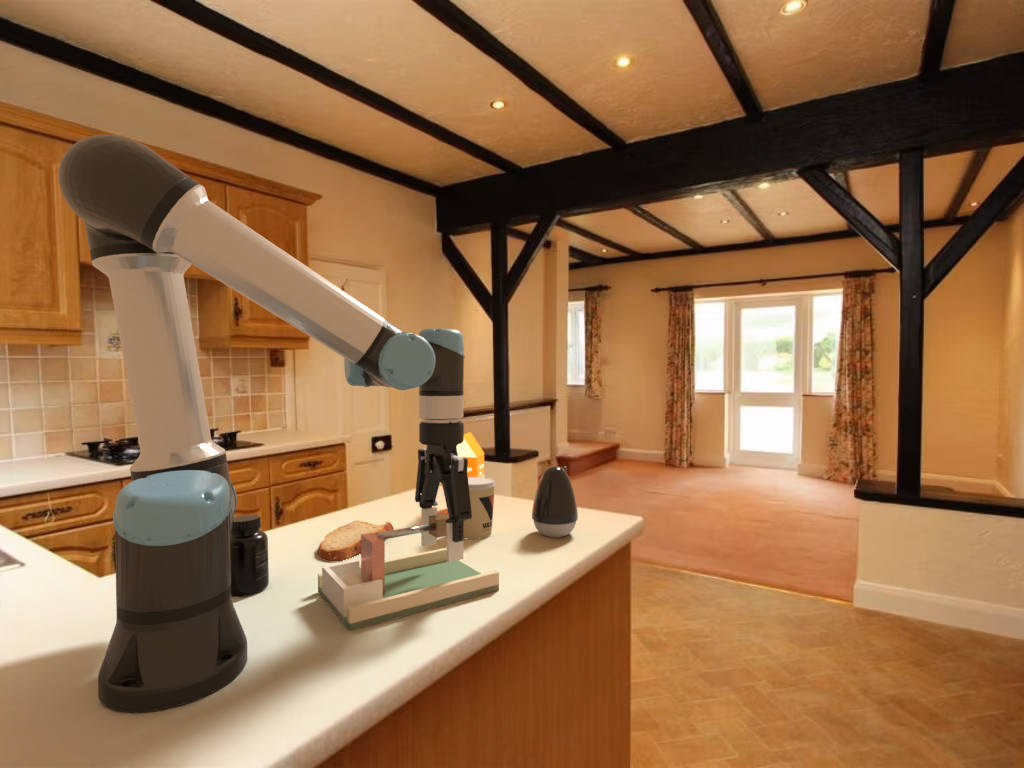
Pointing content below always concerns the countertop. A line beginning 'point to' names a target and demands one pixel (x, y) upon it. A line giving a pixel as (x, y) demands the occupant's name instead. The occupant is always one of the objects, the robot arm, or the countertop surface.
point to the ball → (352, 579)
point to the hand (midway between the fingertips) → (441, 551)
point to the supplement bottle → (248, 556)
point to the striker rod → (376, 546)
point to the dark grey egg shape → (554, 503)
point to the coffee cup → (480, 508)
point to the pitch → (402, 587)
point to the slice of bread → (348, 540)
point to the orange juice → (472, 455)
